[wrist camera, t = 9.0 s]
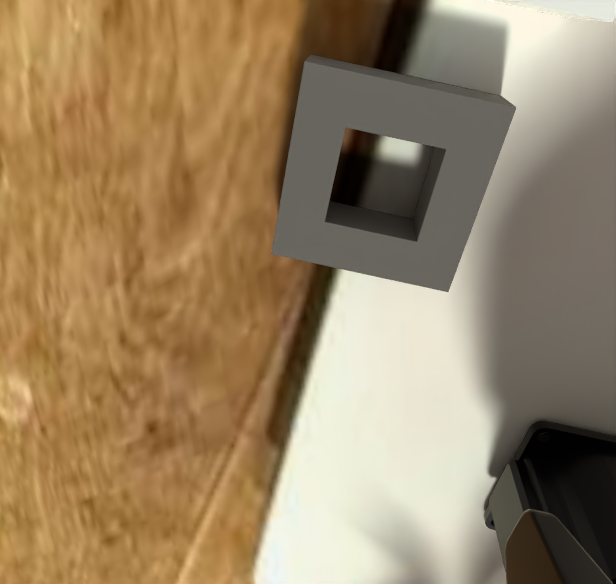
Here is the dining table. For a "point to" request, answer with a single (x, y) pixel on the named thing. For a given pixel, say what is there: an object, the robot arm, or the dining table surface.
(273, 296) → the dining table surface
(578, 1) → the divider wall
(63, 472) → the dining table surface
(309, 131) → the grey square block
